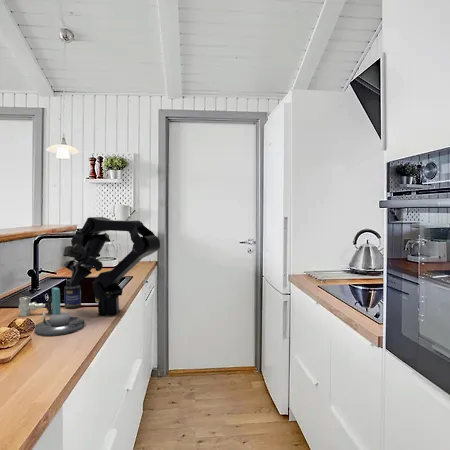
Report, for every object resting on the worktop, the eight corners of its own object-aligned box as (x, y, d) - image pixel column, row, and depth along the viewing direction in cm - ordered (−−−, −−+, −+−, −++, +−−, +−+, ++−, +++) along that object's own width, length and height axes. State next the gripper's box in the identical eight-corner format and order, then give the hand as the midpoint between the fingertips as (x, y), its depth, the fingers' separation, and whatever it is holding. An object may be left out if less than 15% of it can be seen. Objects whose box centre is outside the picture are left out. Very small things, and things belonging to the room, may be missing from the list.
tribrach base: (94, 323, 123) (94, 310, 122) (60, 338, 109) (59, 323, 108) (60, 319, 128) (59, 306, 128) (23, 333, 114) (22, 319, 114)
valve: (15, 318, 130) (50, 316, 132) (14, 300, 130) (49, 298, 132) (23, 313, 137) (56, 311, 138) (22, 295, 137) (55, 294, 138)
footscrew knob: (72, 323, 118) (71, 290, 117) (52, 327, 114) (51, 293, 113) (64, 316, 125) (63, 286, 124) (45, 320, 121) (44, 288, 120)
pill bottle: (65, 309, 140) (64, 281, 140) (64, 306, 146) (63, 279, 145) (82, 307, 143) (81, 280, 142) (80, 304, 148) (79, 277, 148)
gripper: (63, 240, 136) (40, 276, 128) (86, 233, 123) (62, 273, 115) (87, 255, 142) (66, 291, 134) (112, 250, 129) (90, 289, 121)
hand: (70, 286), depth 126 cm, fingers closed
